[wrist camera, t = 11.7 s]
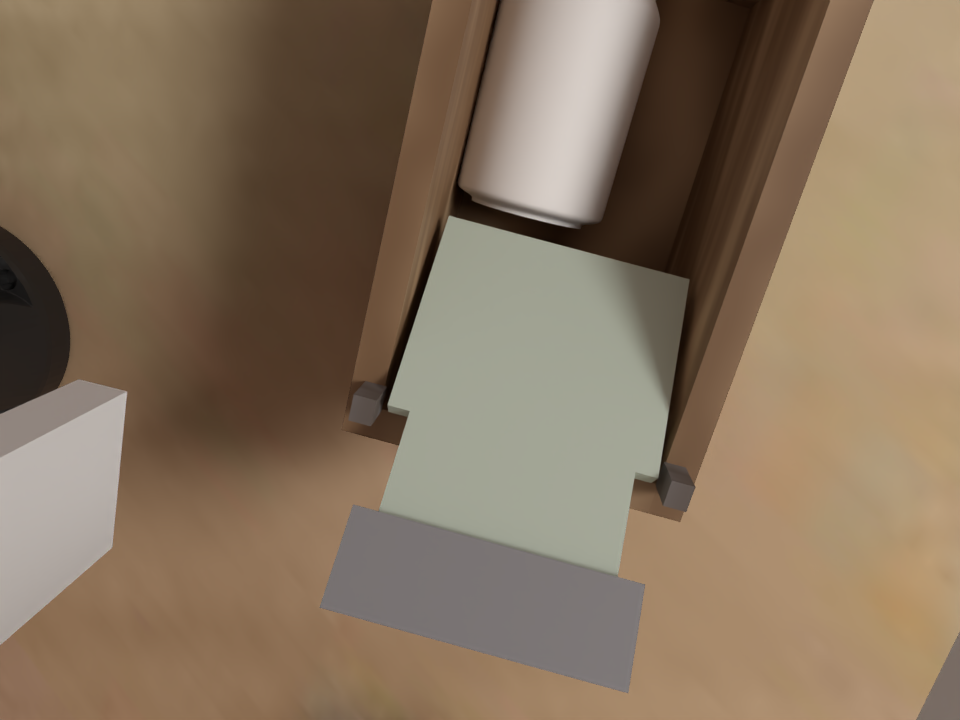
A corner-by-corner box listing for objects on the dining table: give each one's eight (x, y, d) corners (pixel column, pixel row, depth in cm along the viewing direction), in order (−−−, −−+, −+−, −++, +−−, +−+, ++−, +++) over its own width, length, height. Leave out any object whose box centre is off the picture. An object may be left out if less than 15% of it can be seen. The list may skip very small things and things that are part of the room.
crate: (403, 352, 46) (328, 446, 30) (503, -81, 39) (475, -261, 23) (637, 416, 45) (689, 544, 29) (781, -10, 38) (949, -143, 23)
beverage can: (539, 212, 43) (595, 7, 40) (628, 241, 37) (702, 1, 34) (428, 187, 39) (480, -47, 35) (507, 216, 32) (580, -65, 29)
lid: (326, 609, 28) (319, 607, 26) (447, 232, 35) (449, 209, 33) (614, 689, 28) (628, 693, 26) (678, 293, 35) (693, 274, 33)
